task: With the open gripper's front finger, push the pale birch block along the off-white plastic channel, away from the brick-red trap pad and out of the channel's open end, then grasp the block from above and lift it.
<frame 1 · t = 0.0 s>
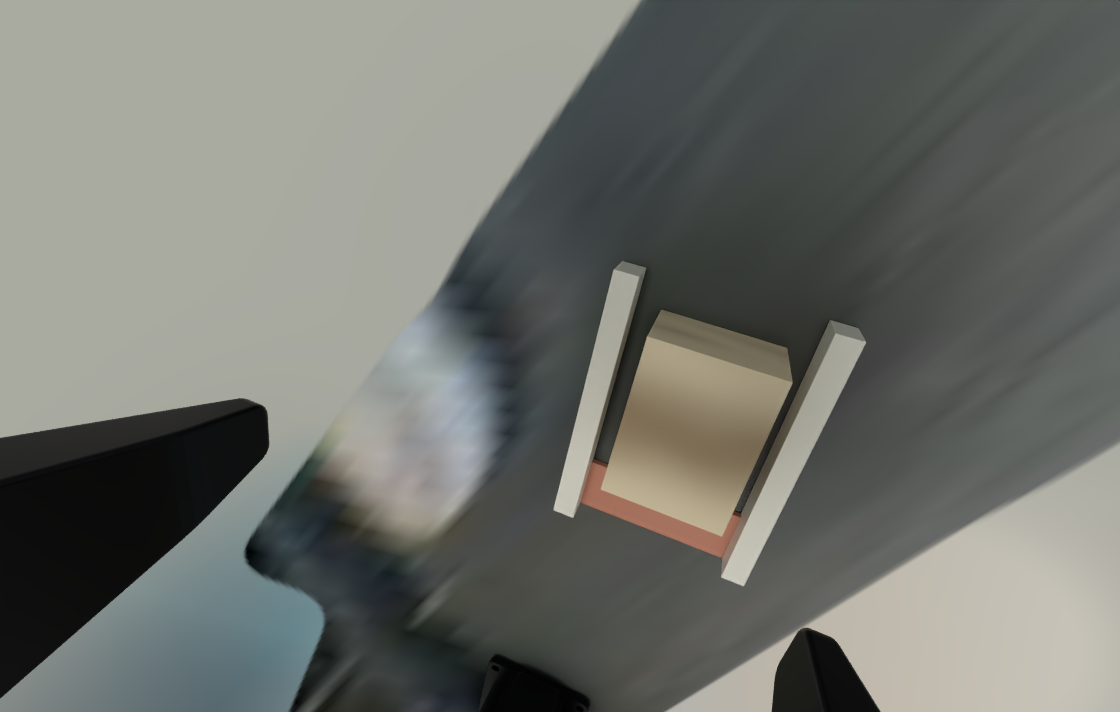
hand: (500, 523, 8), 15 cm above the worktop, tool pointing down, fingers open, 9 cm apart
birch block: (695, 400, 23), on the worktop
channel: (687, 422, 23), on the worktop
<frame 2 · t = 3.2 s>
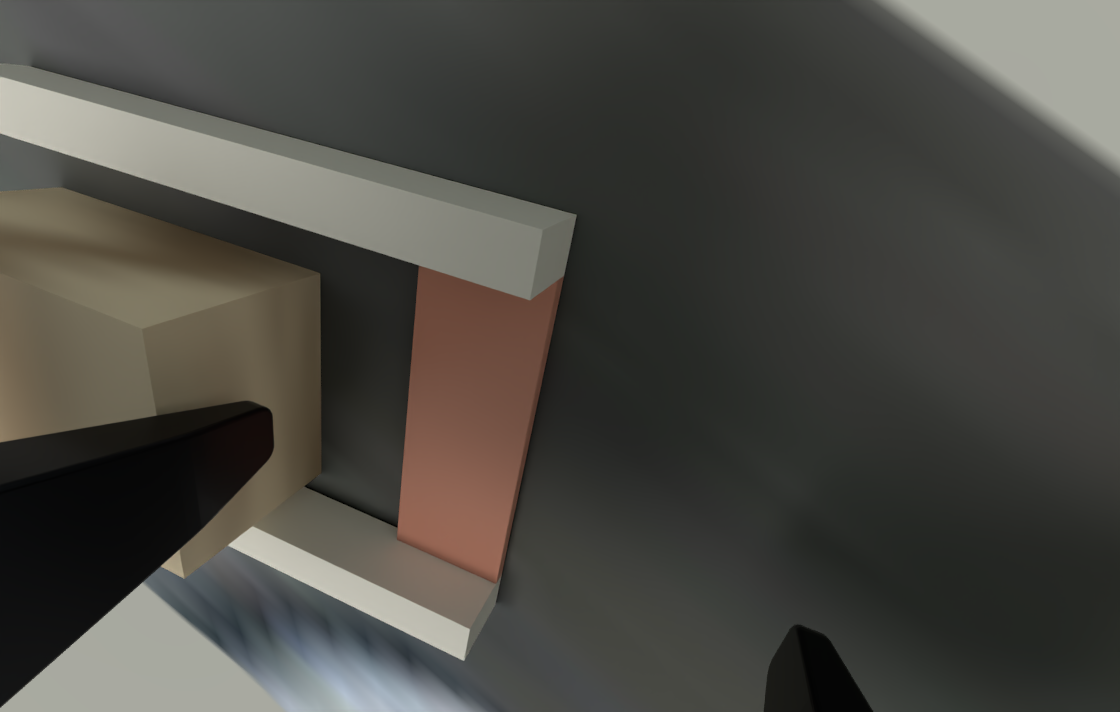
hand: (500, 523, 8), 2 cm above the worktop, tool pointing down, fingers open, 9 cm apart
birch block: (198, 333, 12), on the worktop, touching gripper
channel: (275, 351, 11), on the worktop
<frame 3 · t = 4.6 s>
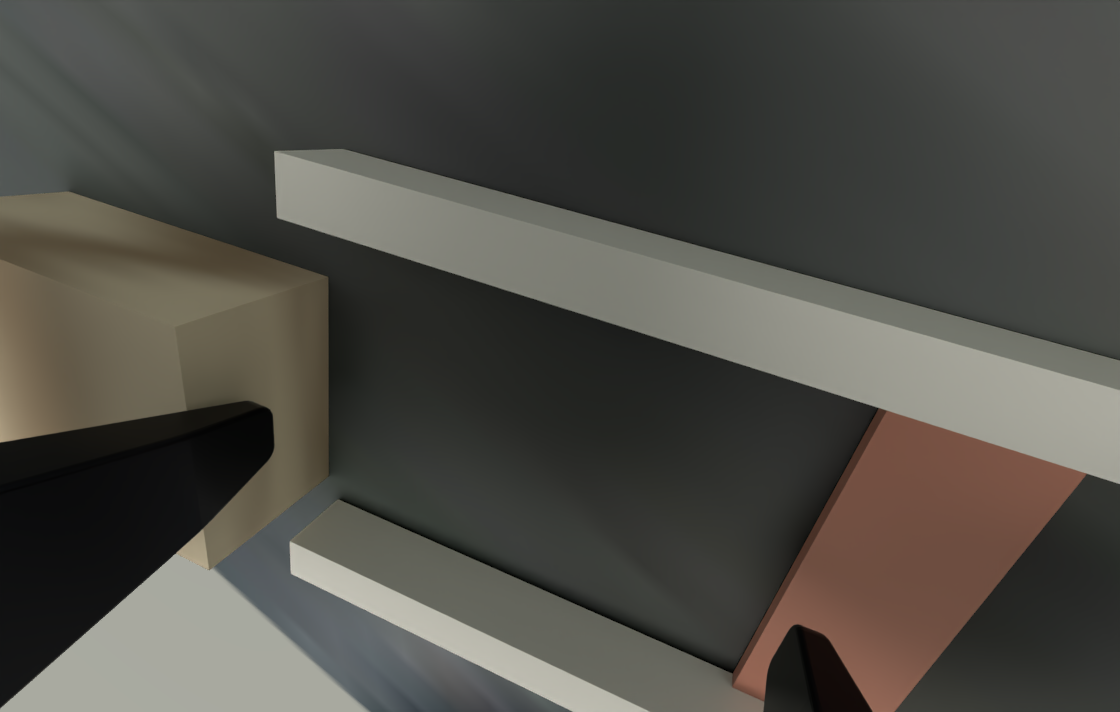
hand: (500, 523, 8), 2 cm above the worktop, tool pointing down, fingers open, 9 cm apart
birch block: (217, 332, 13), on the worktop
channel: (609, 475, 10), on the worktop
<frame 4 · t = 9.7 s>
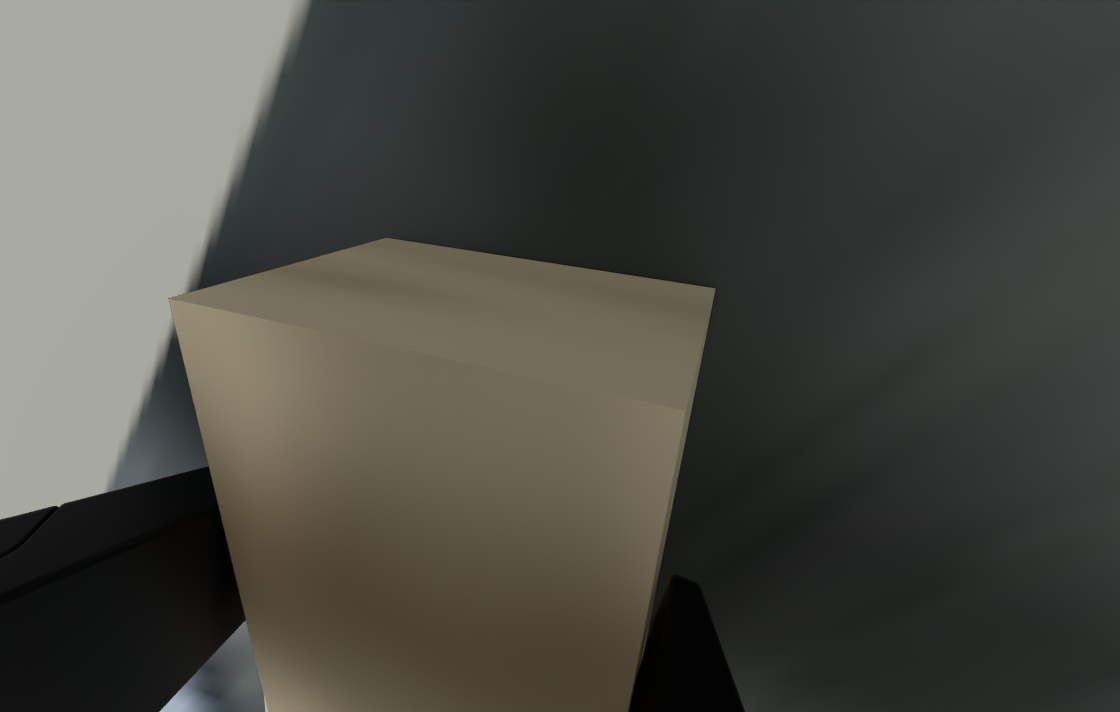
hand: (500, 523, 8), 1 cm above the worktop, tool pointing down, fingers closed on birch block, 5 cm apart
birch block: (525, 463, 9), on the worktop, touching gripper
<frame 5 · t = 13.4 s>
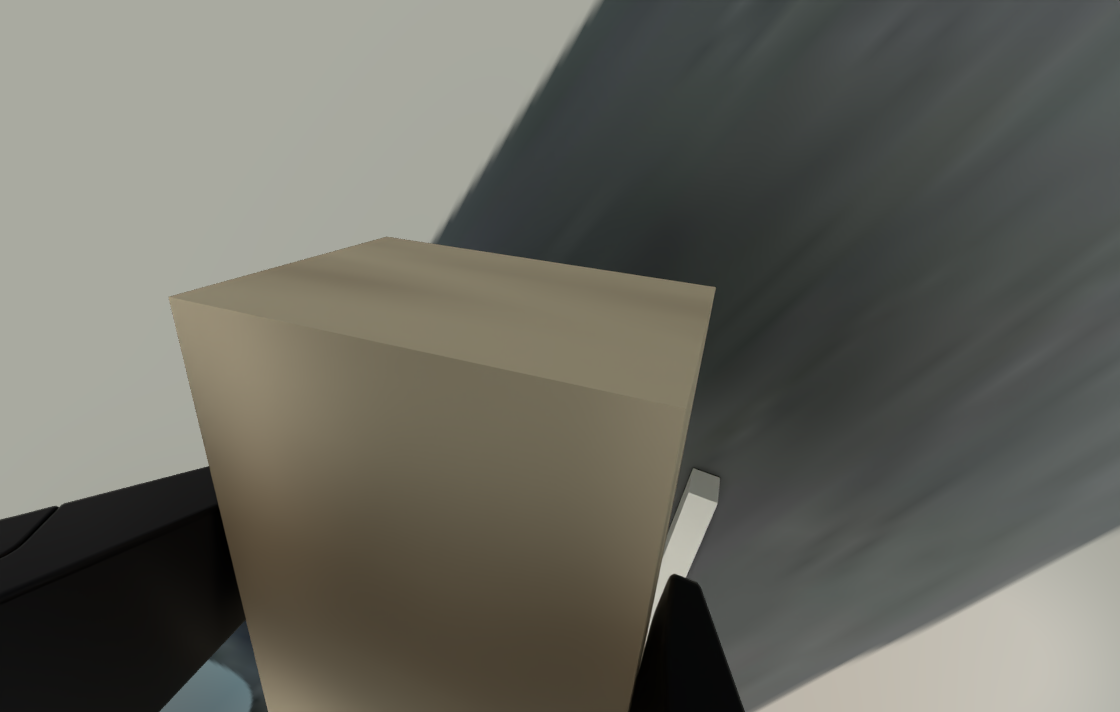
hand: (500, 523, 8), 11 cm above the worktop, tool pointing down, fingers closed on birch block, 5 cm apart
birch block: (525, 462, 9), point 10 cm above the worktop, touching gripper
channel: (570, 549, 23), on the worktop
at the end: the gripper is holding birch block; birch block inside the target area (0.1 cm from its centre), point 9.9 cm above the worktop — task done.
